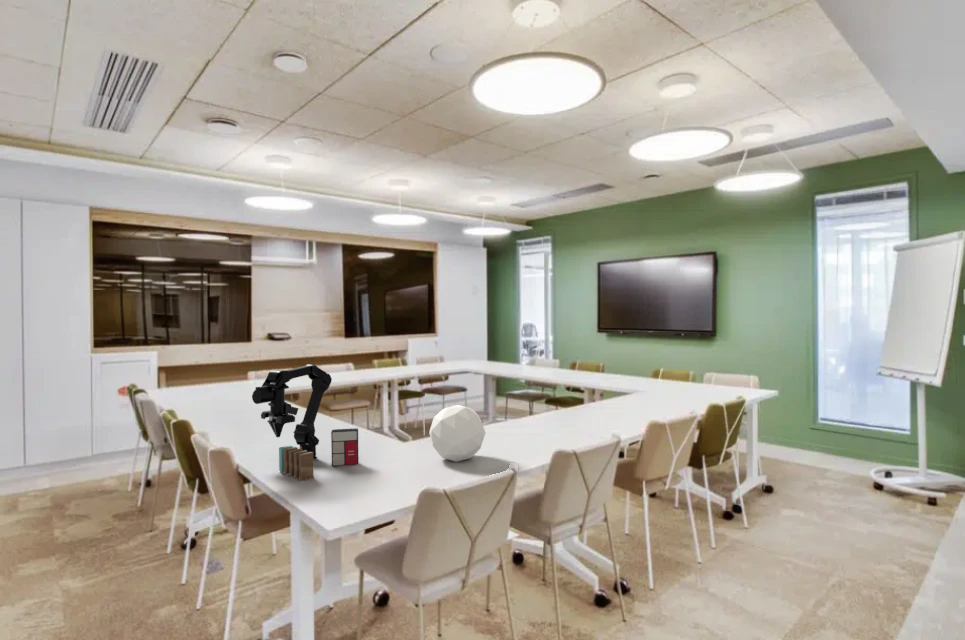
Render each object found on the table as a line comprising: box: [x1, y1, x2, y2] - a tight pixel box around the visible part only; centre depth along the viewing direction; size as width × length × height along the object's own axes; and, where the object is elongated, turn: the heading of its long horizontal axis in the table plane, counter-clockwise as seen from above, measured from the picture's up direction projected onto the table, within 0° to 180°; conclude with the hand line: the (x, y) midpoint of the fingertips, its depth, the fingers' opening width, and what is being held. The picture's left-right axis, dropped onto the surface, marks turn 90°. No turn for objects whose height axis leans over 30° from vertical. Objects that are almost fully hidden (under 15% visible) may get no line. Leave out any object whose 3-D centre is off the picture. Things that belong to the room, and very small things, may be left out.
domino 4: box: [293, 450, 308, 479], centre depth 210 cm, size 2×5×10 cm, turn 138°
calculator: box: [330, 427, 360, 467], centre depth 226 cm, size 11×4×15 cm, turn 101°
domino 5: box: [298, 452, 314, 481], centre depth 208 cm, size 2×5×10 cm, turn 138°
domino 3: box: [288, 448, 303, 477], centre depth 213 cm, size 2×5×10 cm, turn 138°
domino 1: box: [278, 445, 294, 473], centre depth 218 cm, size 2×5×10 cm, turn 138°
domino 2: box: [283, 446, 299, 475], centre depth 216 cm, size 2×5×10 cm, turn 138°
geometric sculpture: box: [428, 404, 486, 463], centre depth 233 cm, size 24×25×25 cm
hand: (278, 437), depth 222 cm, fingers closed
